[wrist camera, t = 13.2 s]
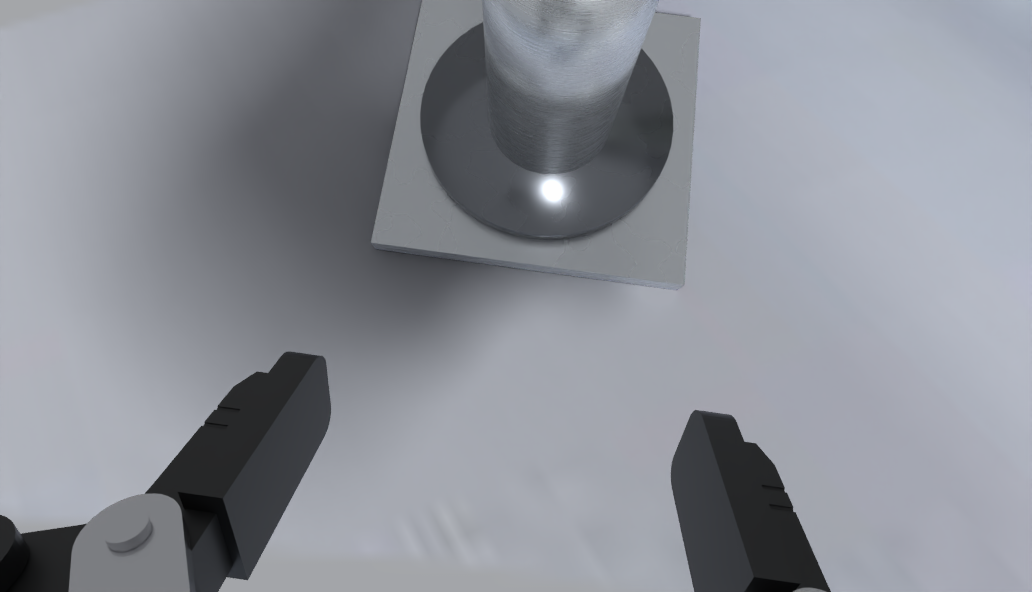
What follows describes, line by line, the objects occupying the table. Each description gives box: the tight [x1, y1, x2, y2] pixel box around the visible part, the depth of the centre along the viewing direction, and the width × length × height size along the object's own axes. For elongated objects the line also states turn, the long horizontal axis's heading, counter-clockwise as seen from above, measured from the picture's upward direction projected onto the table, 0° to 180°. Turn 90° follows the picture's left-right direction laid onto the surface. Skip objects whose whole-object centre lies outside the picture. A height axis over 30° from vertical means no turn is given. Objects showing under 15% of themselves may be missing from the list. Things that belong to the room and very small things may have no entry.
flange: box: [371, 0, 701, 290], centre depth 21 cm, size 12×12×1 cm
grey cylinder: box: [482, 0, 659, 174], centre depth 15 cm, size 5×5×10 cm
